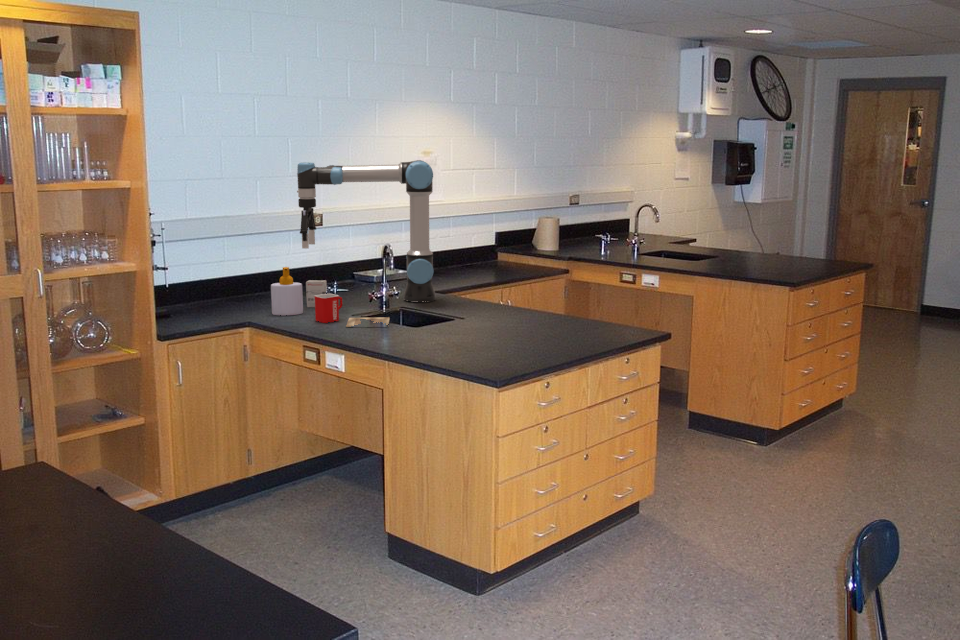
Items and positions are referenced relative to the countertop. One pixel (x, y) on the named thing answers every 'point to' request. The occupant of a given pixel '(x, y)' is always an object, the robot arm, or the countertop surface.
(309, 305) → the ink box
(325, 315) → the mug
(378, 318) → the coaster board
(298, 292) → the soap bottle
